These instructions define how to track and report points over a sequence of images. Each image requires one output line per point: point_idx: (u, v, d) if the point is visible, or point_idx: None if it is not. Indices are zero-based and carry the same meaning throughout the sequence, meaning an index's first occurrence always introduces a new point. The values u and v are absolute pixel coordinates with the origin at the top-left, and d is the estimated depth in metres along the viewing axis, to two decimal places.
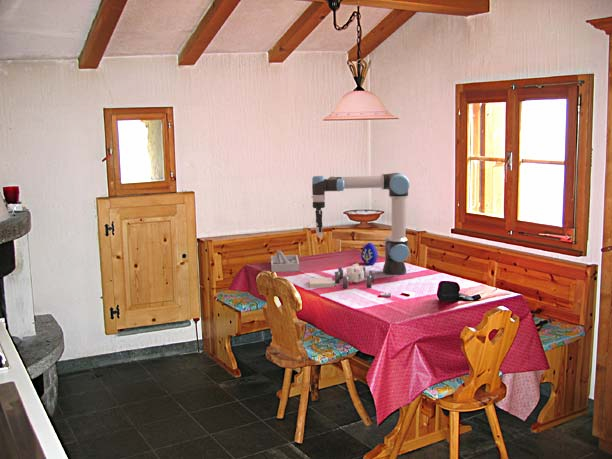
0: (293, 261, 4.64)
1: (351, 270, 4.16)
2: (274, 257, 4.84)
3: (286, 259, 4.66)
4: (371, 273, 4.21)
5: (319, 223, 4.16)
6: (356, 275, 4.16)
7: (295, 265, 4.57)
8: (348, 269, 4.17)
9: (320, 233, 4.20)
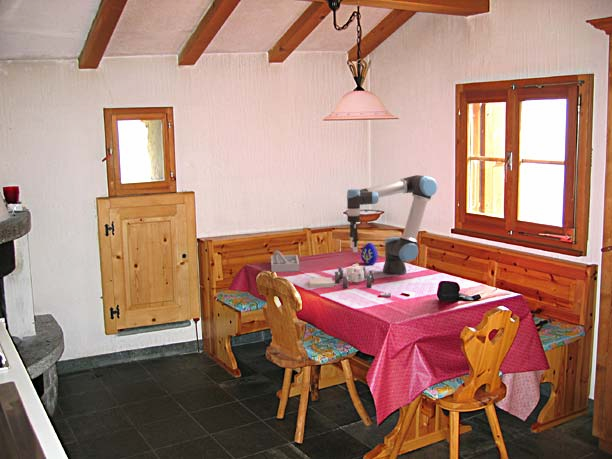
0: (292, 261, 4.64)
1: (351, 270, 4.16)
2: None
3: (285, 259, 4.66)
4: (371, 273, 4.21)
5: (355, 238, 4.08)
6: (356, 275, 4.16)
7: (295, 265, 4.57)
8: (348, 269, 4.17)
9: (355, 248, 4.12)
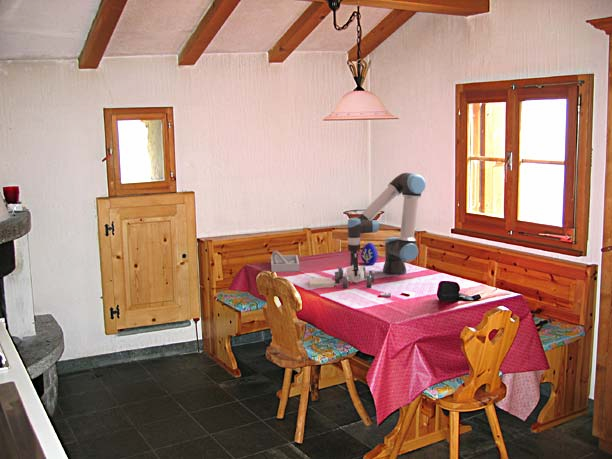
0: (292, 261, 4.64)
1: (351, 270, 4.16)
2: None
3: (284, 259, 4.65)
4: (371, 273, 4.21)
5: (355, 267, 4.12)
6: None
7: (295, 265, 4.57)
8: (348, 269, 4.17)
9: (356, 277, 4.15)
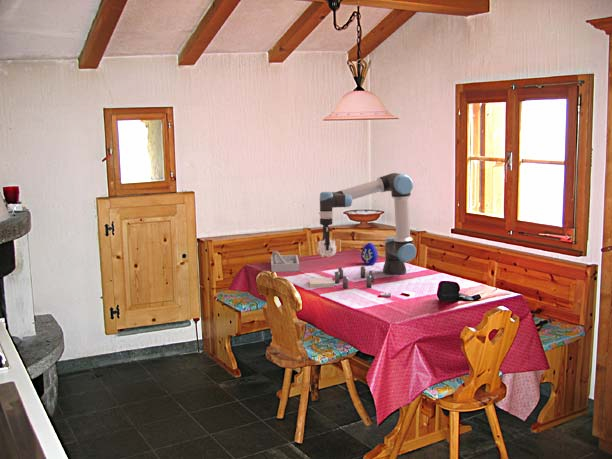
0: (290, 261, 4.63)
1: (323, 244, 4.11)
2: None
3: (283, 259, 4.65)
4: (371, 273, 4.21)
5: (326, 241, 4.06)
6: None
7: (295, 265, 4.57)
8: (320, 243, 4.12)
9: (327, 251, 4.10)
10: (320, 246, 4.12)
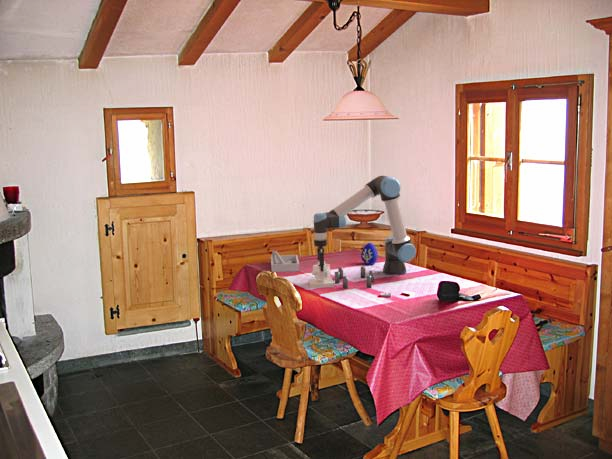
0: (289, 261, 4.63)
1: (317, 268, 4.13)
2: None
3: (282, 260, 4.64)
4: (371, 273, 4.21)
5: (321, 262, 4.07)
6: None
7: (295, 265, 4.57)
8: (314, 267, 4.13)
9: (322, 272, 4.11)
10: (315, 270, 4.13)
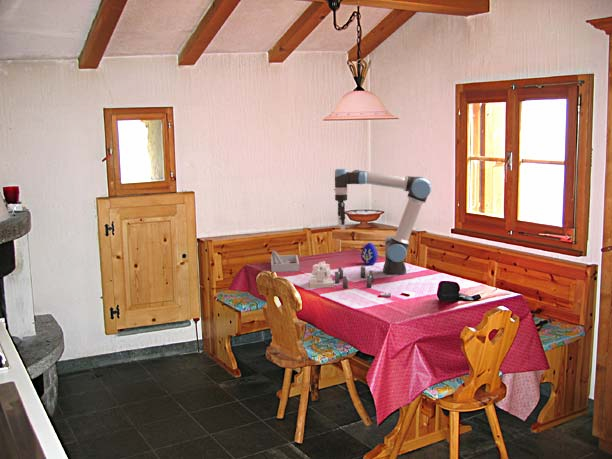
0: (287, 262, 4.62)
1: (317, 268, 4.13)
2: None
3: (280, 260, 4.64)
4: (371, 273, 4.21)
5: (342, 215, 4.20)
6: (322, 273, 4.12)
7: (295, 265, 4.57)
8: (314, 267, 4.13)
9: (343, 225, 4.23)
10: (314, 270, 4.13)
